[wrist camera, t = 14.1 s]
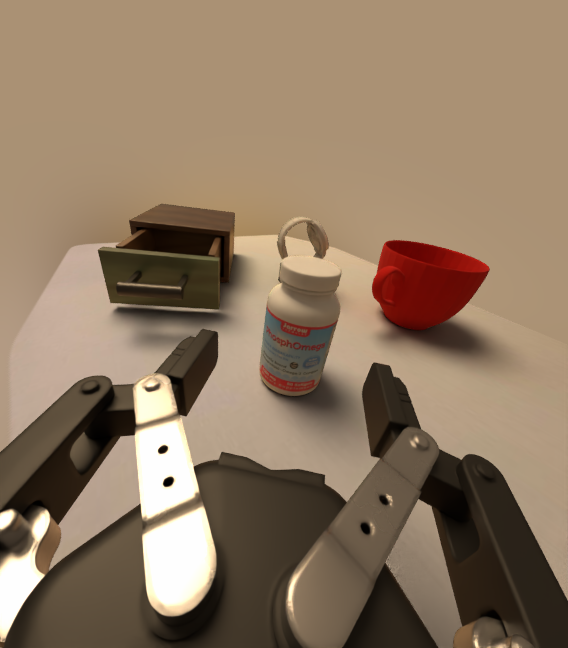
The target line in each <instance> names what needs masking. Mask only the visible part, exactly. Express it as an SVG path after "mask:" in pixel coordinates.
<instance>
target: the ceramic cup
mask: <svg viewBox="0 0 568 648" xmlns="http://www.w3.org/2000/svg"><path fill="white" fill-rule="evenodd" d="M489 270H490V269H489V267H488V266H487V265H486V264H485V263H483V262H481V261H479V260H477V259H475V258H473V257H470V256H467V255H465V254H462V253H459V252H456V251H452V250H449V249H446V248H442V247H437V246H433V245H429V244H424V243H418V242H411V241H400V240H393V241H387V242H386V243H385V244H384V246H383V249H382V253H381V256H380V261H379V265H378V270H377V275H376V276H375V278H374V281H373V284H372V292H373V296H374V298H375V299H376V300H377V301H378V302H379V303H380V305H381V307H382V309H383V311H384V315H385V316H386V318H388V319H389V320H390V321H392V322H393V323H395V324H397V325H399V326H402V327H405V328H408V329H413V330H425V329H427V328H429V327H432V326H435V325H438V324H440V323H442V322H444V321H446V320H448V319H449V318H451V317H453V316H454V315H455V314H457V313H458V312H459V311H460V310H461V309H462V308H463V307H464V306H465V305H466V304H467V303H468V302H469V301H470V299H471V298H472V297H473V295H474V294H475V293H476V291H477V290H478V288H479V287H480V286H481V284H482V282H483V281H484V279H485V278H486V276H487V274H488V272H489Z"/></svg>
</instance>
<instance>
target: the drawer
mask: <svg viewBox="0 0 568 648" xmlns="http://www.w3.org/2000/svg"><path fill="white" fill-rule="evenodd" d="M98 253H99V257H100V261H101V265H102V270H103V274H104V278H105V282H106V286H107V290H108V294H109V299H110V303H122V304H138V305H155V306H171V307H188V308H204V309H219V303H220V275H221V271H222V267H223V236H219V235H209V234H200V233H191V232H181V231H172V230H163V229H153V228H142V229H141V230H139V231H138V232H136V233H135V234H133V235H132V236H130V237H128V238H127V239H125V240H124V241H122V242H121V243H119V244H118V245H116V248H111V247H102V248H100V249H98Z"/></svg>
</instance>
